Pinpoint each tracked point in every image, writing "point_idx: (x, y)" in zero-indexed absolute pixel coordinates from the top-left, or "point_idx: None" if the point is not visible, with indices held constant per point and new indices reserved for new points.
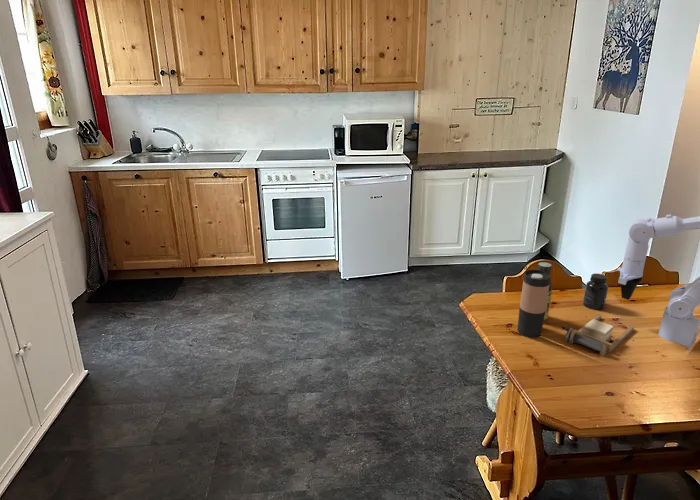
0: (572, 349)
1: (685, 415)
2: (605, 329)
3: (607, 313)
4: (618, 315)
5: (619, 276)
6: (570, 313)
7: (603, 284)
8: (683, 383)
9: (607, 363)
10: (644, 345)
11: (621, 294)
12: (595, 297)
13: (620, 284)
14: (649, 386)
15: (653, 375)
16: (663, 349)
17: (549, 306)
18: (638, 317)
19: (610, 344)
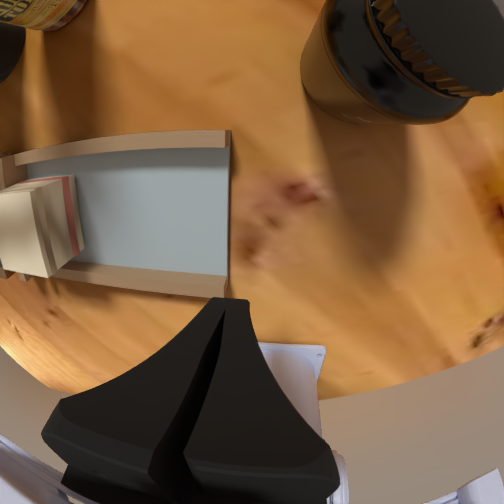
0: None
1: (41, 380)
2: (15, 262)
3: (338, 147)
4: (351, 195)
5: (74, 447)
6: (202, 21)
7: (412, 80)
8: None
9: None
10: (167, 327)
11: (202, 308)
12: (316, 66)
13: (122, 375)
14: (41, 345)
15: (70, 351)
16: None
17: (20, 14)
18: (381, 266)
19: (21, 278)
